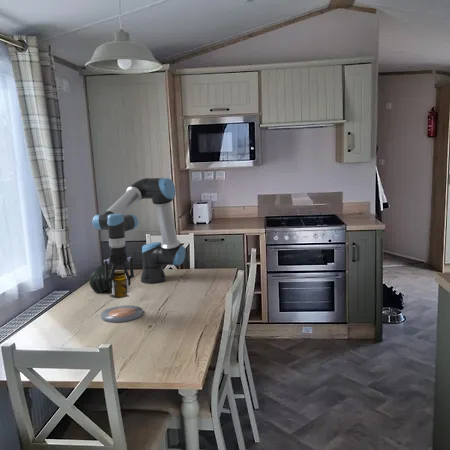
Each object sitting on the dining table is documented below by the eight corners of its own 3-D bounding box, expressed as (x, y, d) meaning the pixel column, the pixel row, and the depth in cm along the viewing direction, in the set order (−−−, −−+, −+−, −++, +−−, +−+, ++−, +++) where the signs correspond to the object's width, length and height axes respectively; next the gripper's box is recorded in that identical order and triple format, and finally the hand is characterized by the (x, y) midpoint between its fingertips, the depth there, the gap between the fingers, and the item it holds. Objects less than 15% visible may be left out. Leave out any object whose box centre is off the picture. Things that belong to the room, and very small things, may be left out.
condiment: (129, 296, 218) (128, 272, 216) (112, 300, 214) (110, 275, 212) (124, 292, 224) (123, 269, 222) (107, 296, 220) (106, 272, 218)
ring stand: (98, 311, 226) (98, 309, 226) (138, 305, 234) (138, 302, 233) (104, 325, 208) (103, 322, 208) (147, 318, 215) (146, 315, 215)
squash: (111, 286, 250) (113, 262, 258) (84, 287, 250) (87, 263, 258) (117, 296, 262) (120, 273, 270) (92, 298, 262) (95, 274, 270)
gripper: (97, 249, 208) (101, 298, 212) (139, 245, 215) (141, 292, 219) (95, 247, 215) (99, 293, 219) (135, 242, 222) (138, 288, 226)
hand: (120, 293), depth 219 cm, fingers closed on condiment, 6 cm apart
